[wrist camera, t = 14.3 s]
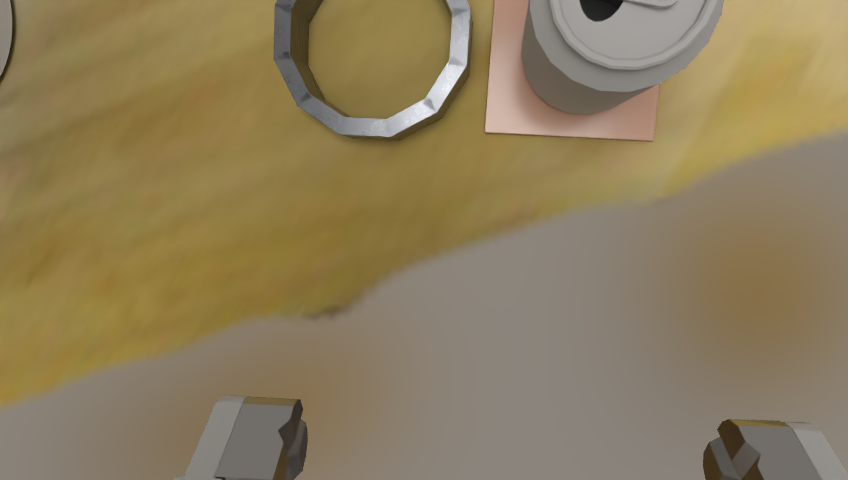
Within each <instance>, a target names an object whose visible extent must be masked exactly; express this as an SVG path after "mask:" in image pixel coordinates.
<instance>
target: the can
mask: <svg viewBox="0 0 848 480" xmlns="http://www.w3.org/2000/svg"><path fill="white" fill-rule="evenodd" d="M723 1H724V0H529V2H528V8H527V14H526V20H525V26H524V32H523V41H522V52H521V58H522V63H523V67H524V72H525V76H526V78H527V79H528V81H529V83H530V84H531V86H532V88H533V89H534V91H535V93H536V94H537V95H538V96H540V97H541V98H542V99H543V100H544V101H546V102H547V103H548V104H549V105H550V106H552V107H555V108H557V109H560V110H562V111H565V112H567V113H572V114H594V113H598V112H602V111H606V110H609V109H612V108H614V107H616V106H618V105H620V104H622V103H624V102H625V101H627V100H629V99H631V98H633V97H635V96H637V95H639V94H641V93H643V92H645V91H646V90H648V89H650V88H652V87H654V86H656V85H658V84H660V83H661V82H663V81H665V80H666V79H668V78H670V77H671V76H673V75H674V74H676V73H678V72H679V71H681V70H683V69H684V68H686V67H687V66H688V65H689V63H690V62H691V61H692V60H693V59H694V58H695V57H696V56H697V55H698V53H699V52H700V51H701V50H702V49H703V48H704V47H705V46H706V45H707V43H708V41H709V39H710V37H711V35H712V33H713V31H714V29H715V27H716V25H717V23H718V21H719V18H720V16H721V14H722V8H723Z"/></svg>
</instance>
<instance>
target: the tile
mask: <svg viewBox="0 0 848 480" xmlns="http://www.w3.org/2000/svg"><path fill="white" fill-rule="evenodd" d="M528 2H529V0H495V3H494V16H493V30H492V43H491V56H490V70H489V83H488V97H487V110H486V123H485V133H499V134H519V135H538V136H558V137H577V138H597V139H616V140H636V141H653V140H654V131H655V123H656V114H657V105H658V97H659V88H660V84H658V85H656V86H654V87H652V88H650V89H648V90H646V91H645V92H643V93H641V94H639V95H637V96H635V97H633V98H631V99H629V100H627V101H625V102H624V103H622V104H620V105H618V106H616V107H614V108H612V109H609V110H606V111H602V112H598V113H594V114H572V113H567V112H565V111H562V110H560V109H557V108H555V107H552V106H550V105H549V104H548V103H547V102H546V101H544V100H543V99H542V98H541V97H540V96H538V95H537V94H536V93H535V91H534V89H533V88H532V86H531V84H530V83H529V81H528V79H527V78H526V76H525V72H524V67H523V63H522V58H521V52H522V41H523V32H524V26H525V20H526V14H527V8H528Z"/></svg>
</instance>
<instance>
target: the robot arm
mask: <svg viewBox="0 0 848 480" xmlns="http://www.w3.org/2000/svg"><path fill="white" fill-rule="evenodd" d="M11 38H12V11H11V3H10V0H0V76H1V74H2V72H3V70H4V67H5V65H6V61H7V58H8V55H9V50H10V45H11ZM302 411H303V407H302V404H301V400H300V399H283V398H266V397H250V396H232V395H222V396H221V397H220V398H219V400H218V401H217V402H216V403H215V406H214V408H213V410H212V412H211V415H210V417H209V419H208V422H207V424H206V427H205V429H204V431H203V434H202V436H201V438H200V441H199V443H198V445H197V448H196V450H195V452H194V455H193V457H192V459H191V462H190V464H189V466H188V469H187V471H186V474H185V476H176V477H175V478H174V479H173V480H294V479H295V478H296V477H297V476H298V475H299V474H300V473H301V472H302V471H303V466H304V462H305V458H306V450H307V442H308V437H307V436H308V435H307V426H306V423H305V422H304V421H303V420H302V419H301V415H302ZM717 430H718V432H719V434H720V437H719V438H717V439H715V440H713V441H711V442H709V443H708V445H707V447H706V449H705V451H704V455H703V469H704V474H705V479H706V480H848V474H847V473H846V471H845V469H844V468H843V466H842V464H841V463H840V461H839V460H838V458H837V456H836V455H835V453H834V452H833V450H832V449H831V447H830V445H829V444H828V442H827V441H826V439H825V437H824V436H823V434H822V433H821V432H820V430H819V429H818V428H817V427H816V426H815V425H813V424H811V423H806V422H781V421H772V420H770V421H769V420H739V419H738V420H737V419H728V420H726V421H723V422H722V423H721V424H720V426H719V427H718V429H717Z"/></svg>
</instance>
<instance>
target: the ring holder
mask: <svg viewBox="0 0 848 480" xmlns="http://www.w3.org/2000/svg"><path fill="white" fill-rule="evenodd" d="M322 1H323V0H277V2H276V3H275V24H274V60H275V62H276V64H277V66H278V68H279V70H280V72H281V74H282V76H283V78H284V80H285V82H286V84H287V86H288V88H289V90H290V92H291V94H292V96H293V98H294V100H295V102H296V104H297V106H298V107H300V108H301V109H303V110H304V111H306V112H307V113H309V114H310V115H312V116H313V117H315V118H316V119H318V120H319V121H321V122H322V123H324V124H325V125H327V126H328V127H330V128H331V129H333V130H334V131H336V132H337V133H338V134H341V135H344V136H348V137H352V138H367V139H385V140H401V139H403V138H405V137H406V136H408V135H410V134H412V133H414V132H416V131H418V130H420V129H422V128H424V127H425V126H427V125H429V124H431V123H433V122H435V121H437V120H439V119H441V118H442V117H443V115H444V114H445V112H446V111H447V109H448V108H449V106H450V104H451V103H452V101H453V100H454V98H455V97H456V95H457V94H458V92H459V91H460V89H461V87H462V86H463V84H464V83H465V81H466V80H467V78H468V77H469V71H470V56H471V42H472V27H473V22H472V15H471V9H470V7H469V4H468V2H467V0H443V1H444V4H445V6H446V8H447V10H448V12H449V14H450V16H451V18H452V28H451V44H450V59H449V62H448V63H447V65H446V66H445V68H444V69H443V71H442V73H441V74H440V76H439V77H438V79H437V81H436V82H435V84H434V85H433V87H432V88H431V90H430V92H429V93H428V95H427V96H426V98H425V99H424V100H422V101H420V102H418V103H416V104H414V105H412V106H410V107H409V108H407V109H405V110H403V111H401V112H399V113H397V114H396V115H394V116H392V117H390V118H388V119H370V118H350V117H349V116H347V115H346V114H344V113H343V112H341V111H340V110H338V109H337V108H335V107H334V106H332V105H331V104H329V103H328V102H327V101H325V99H324V97H323V95H322V93H321V91H320V89H319V87H318V85H317V83H316V81H315V79H314V77H313V75H312V73H311V71H310V69H309V67H308V40H309V23H310V22H311V20H312V18H313V16H314V15H315V13H316V11H317V9H318V8H319V6H320V4H321V2H322Z"/></svg>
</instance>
